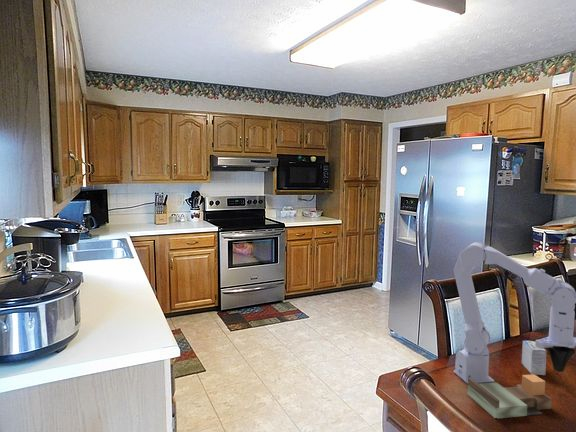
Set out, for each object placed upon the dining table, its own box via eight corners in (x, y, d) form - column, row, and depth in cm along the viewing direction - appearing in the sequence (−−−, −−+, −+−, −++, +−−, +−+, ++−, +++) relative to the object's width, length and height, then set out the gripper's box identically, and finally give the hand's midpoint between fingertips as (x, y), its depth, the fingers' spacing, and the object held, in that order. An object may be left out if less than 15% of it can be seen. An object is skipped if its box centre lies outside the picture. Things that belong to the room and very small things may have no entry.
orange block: (532, 395, 106) (532, 382, 106) (521, 388, 110) (522, 375, 110) (544, 394, 107) (545, 381, 106) (533, 387, 111) (534, 374, 110)
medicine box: (545, 376, 123) (547, 350, 123) (530, 374, 124) (532, 349, 124) (534, 364, 131) (536, 341, 130) (520, 363, 132) (522, 339, 131)
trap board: (495, 418, 100) (496, 400, 100) (467, 394, 112) (468, 378, 112) (557, 412, 103) (558, 395, 103) (523, 389, 115) (524, 373, 115)
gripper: (551, 331, 103) (547, 378, 104) (596, 329, 105) (592, 375, 106) (530, 322, 110) (528, 366, 111) (573, 320, 112) (570, 363, 113)
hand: (558, 370), depth 109 cm, fingers closed
